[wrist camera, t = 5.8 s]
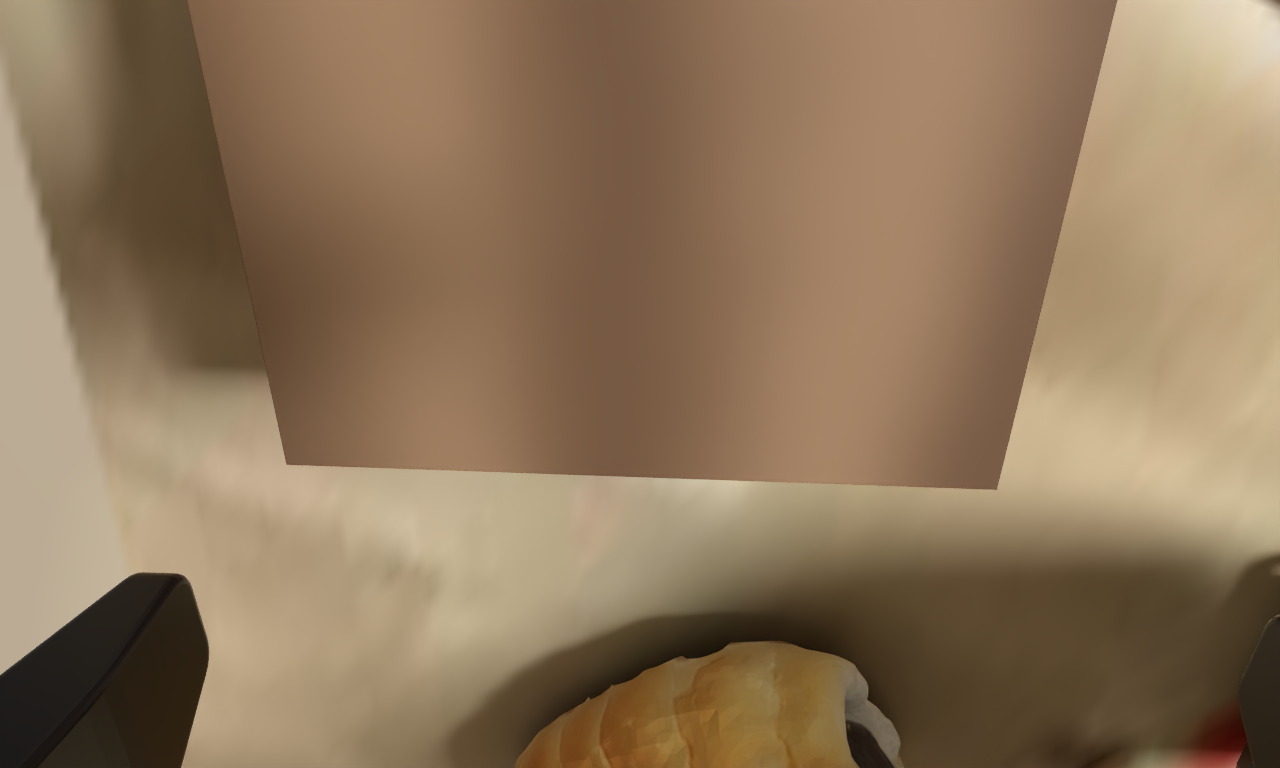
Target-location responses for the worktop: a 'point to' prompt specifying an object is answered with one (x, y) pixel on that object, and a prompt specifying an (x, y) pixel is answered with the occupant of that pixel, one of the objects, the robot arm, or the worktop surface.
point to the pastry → (726, 716)
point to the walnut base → (651, 227)
